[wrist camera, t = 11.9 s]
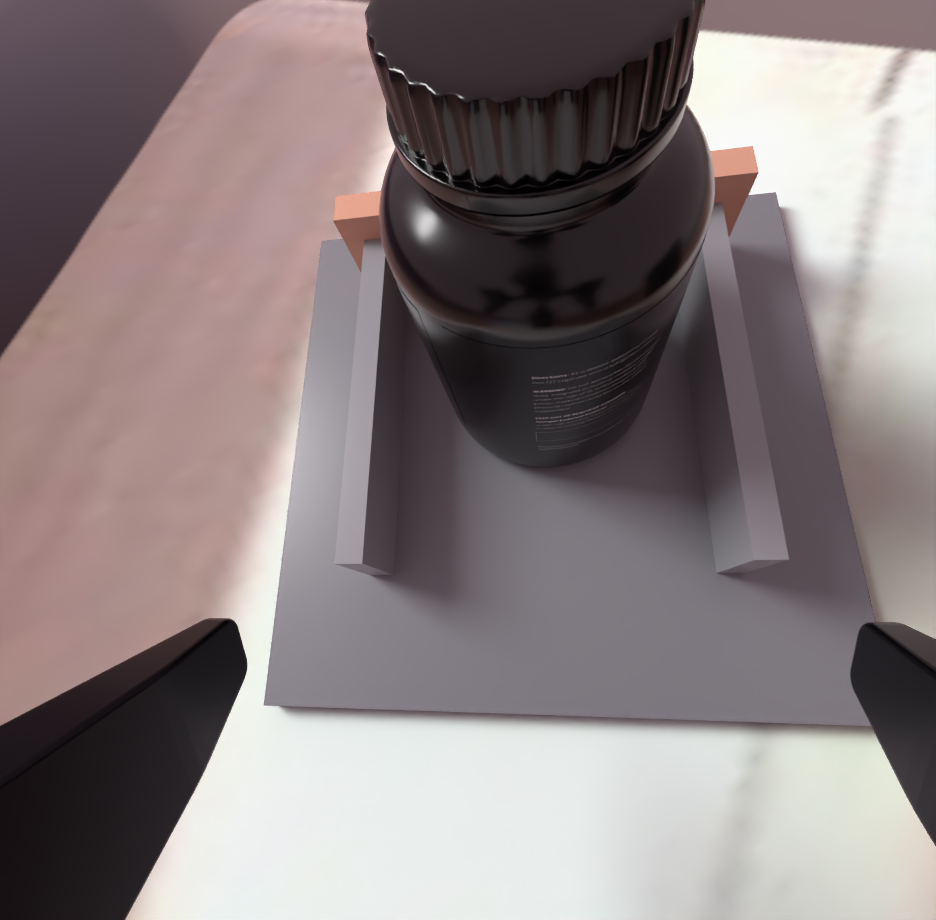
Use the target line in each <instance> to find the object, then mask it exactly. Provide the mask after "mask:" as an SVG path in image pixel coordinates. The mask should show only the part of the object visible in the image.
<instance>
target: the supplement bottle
mask: <svg viewBox="0 0 936 920" xmlns="http://www.w3.org/2000/svg"><path fill="white" fill-rule="evenodd" d="M370 1H371V2H370V4H369V6H368V8H367V10H366V12H365V18H366V24H367V28H368V29H367V41H368V47H369V51H370V54H371V57H372V60H373V64H374V67H375V70H376V73H377V76H378V79H379V82H380V85H381V89H382V92H383V95H384V98H385V101H386V112H387V121H388V126H389V130H390V133H391V136H392V139H393V142H394V144H395V147H396V148H395V150H394V152H393V154H392V156H391V159H390V161H389V164H388V167H387V170H386V173H385V176H384V180H383V185H382V189H381V195H380V204H379V228H380V235H381V242H382V245H383V249H384V253H385V256H386V259H387V261H388V264H389V266H390V269H391V272H392V274H393V277H394V279H395V281H396V284H397V286H398V288H399V290H400V293H401V295H402V297H403V299H404V301H405V304H406V306H407V308H408V310H409V312H410V315H411V317H412V319H413V321H414V323H415V326H416V328H417V330H418V332H419V334H420V337H421V339H422V341H423V343H424V345H425V348H426V350H427V352H428V354H429V356H430V359H431V361H432V363H433V365H434V367H435V370H436V372H437V374H438V376H439V378H440V381H441V383H442V385H443V387H444V389H445V392H446V394H447V396H448V398H449V400H450V403H451V405H452V407H453V409H454V411H455V413H456V415H457V416H458V418H459V420H460V422H461V423H462V425H463V426H464V428H465V429H466V430H467V432H468V433H469V434H470V435H471V436H472V438H473V439H474V440H475V441H477V442H478V443H479V444H480V445H481V446H482V447H484V448H485V449H486V450H488V451H489V452H491V453H493V454H494V455H496V456H498V457H500V458H502V459H505V460H507V461H510V462H513V463H516V464H520V465H524V466H531V467H541V468H548V467H561V466H567V465H571V464H575V463H578V462H582V461H584V460H587V459H589V458H592V457H594V456H596V455H598V454H599V453H601V452H603V451H605V450H606V449H608V448H609V447H611V446H612V445H613V444H614V443H615V442H617V441H618V440H619V439H620V438H621V437H622V436H623V435H624V434H625V433H626V432H627V431H628V429H629V428H630V427H631V426H632V424H633V423H634V421H635V419H636V418H637V416H638V415H639V413H640V411H641V409H642V407H643V404H644V402H645V400H646V397H647V395H648V392H649V390H650V387H651V384H652V382H653V379H654V376H655V373H656V371H657V368H658V365H659V363H660V360H661V357H662V355H663V352H664V349H665V346H666V344H667V341H668V338H669V336H670V333H671V330H672V327H673V325H674V322H675V319H676V317H677V314H678V311H679V308H680V306H681V303H682V300H683V298H684V295H685V292H686V289H687V287H688V284H689V281H690V279H691V276H692V273H693V270H694V268H695V265H696V262H697V260H698V257H699V254H700V251H701V249H702V246H703V243H704V240H705V237H706V233H707V230H708V227H709V223H710V219H711V215H712V210H713V205H714V196H715V175H714V169H713V163H712V157H711V153H710V150H709V147H708V143H707V140H706V138H705V135H704V133H703V131H702V129H701V126H700V124H699V122H698V121H697V119H696V117H695V116H694V114H693V113H692V111H691V110H690V108H689V107H688V105H687V100H688V96H689V92H690V88H691V83H692V78H693V66H694V64H693V55H694V50H695V46H696V42H697V37H698V33H699V29H700V24H701V20H702V16H703V11H704V6H705V0H370Z"/></svg>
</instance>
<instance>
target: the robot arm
mask: <svg viewBox="0 0 936 920" xmlns="http://www.w3.org/2000/svg"><path fill="white" fill-rule="evenodd" d="M246 672H247V658H246V655H245V651H244V648H243V644H242V640H241V637H240V633H239V630H238V626H237V624H236V623H235V621H233V620H232V619H229V618H209V619H205V620H203V621H201V622H199V623H197V624H195V625H193V626H191V627H189V628H187V629H185V630H183V631H181V632H180V633H178V634H176V635H174V636H172V637H170V638H168V639H166V640H164V641H162V642H160V643H158V644H157V645H155V646H153V647H151V648H149V649H147V650H145V651H143V652H141V653H139V654H137V655H135V656H133V657H132V658H130V659H128V660H126V661H124V662H122V663H120V664H118V665H116V666H114V667H112V668H110V669H108V670H107V671H105V672H103V673H101V674H99V675H97V676H95V677H93V678H91V679H89V680H87V681H85V682H83V683H82V684H80V685H78V686H76V687H74V688H72V689H70V690H68V691H66V692H64V693H62V694H60V695H59V696H57V697H55V698H53V699H51V700H49V701H47V702H45V703H43V704H41V705H39V706H37V707H35V708H34V709H32V710H30V711H28V712H26V713H24V714H22V715H20V716H18V717H16V718H14V719H12V720H10V721H9V722H7V723H5V724H3V725H1V726H0V920H125V919H126V917H127V916H128V914H129V912H130V910H131V908H132V906H133V904H134V903H135V901H136V899H137V897H138V895H139V893H140V891H141V890H142V888H143V886H144V884H145V882H146V880H147V878H148V877H149V875H150V873H151V871H152V869H153V867H154V865H155V863H156V862H157V860H158V858H159V856H160V854H161V852H162V850H163V849H164V847H165V845H166V843H167V841H168V839H169V837H170V836H171V834H172V832H173V830H174V828H175V826H176V824H177V823H178V821H179V819H180V817H181V815H182V813H183V811H184V810H185V808H186V806H187V804H188V802H189V800H190V798H191V797H192V795H193V793H194V791H195V789H196V787H197V785H198V783H199V781H200V779H201V777H202V775H203V773H204V771H205V769H206V767H207V764H208V762H209V760H210V758H211V756H212V753H213V751H214V749H215V746H216V744H217V742H218V739H219V737H220V735H221V732H222V730H223V728H224V725H225V723H226V721H227V718H228V716H229V714H230V711H231V709H232V707H233V704H234V702H235V700H236V697H237V695H238V693H239V690H240V688H241V686H242V683H243V681H244V679H245V676H246ZM850 679H851V684H852V687H853V690H854V692H855V694H856V696H857V698H858V700H859V702H860V704H861V706H862V708H863V710H864V712H865V714H866V716H867V718H868V720H869V722H870V724H871V726H872V728H873V730H874V732H875V734H876V736H877V738H878V740H879V742H880V744H881V746H882V748H883V750H884V752H885V754H886V756H887V758H888V760H889V762H890V764H891V766H892V768H893V770H894V772H895V774H896V776H897V778H898V780H899V782H900V784H901V786H902V788H903V790H904V792H905V794H906V796H907V798H908V800H909V802H910V803H911V805H912V807H913V809H914V811H915V813H916V814H917V816H918V818H919V819H920V821H921V823H922V824H923V826H924V828H925V829H926V831H927V833H928V834H929V836H930V838H931V839H932V841H933V842H934V844H935V846H936V639H934V638H932V637H929V636H927V635H925V634H923V633H921V632H919V631H917V630H915V629H912V628H910V627H908V626H906V625H904V624H901V623H896V622H868V623H865V624H863V625H862V626H861V628H860V629H859V632H858V636H857V641H856V645H855V650H854V655H853V660H852V664H851V669H850Z"/></svg>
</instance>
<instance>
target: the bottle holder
mask: <svg viewBox="0 0 936 920" xmlns="http://www.w3.org/2000/svg"><path fill="white" fill-rule="evenodd" d="M710 153H711V157H712V163H713V169H714V175H715V196H714V205H713V210H712V215H711V219H710V223H709V227H708V230H707V233H706V237H705V240H704V243H703V246H702V249H701V251H700V254H699V257H698V260H697V262H696V265H695V268H694V270H693V273H692V276H691V279H690V281H689V284H688V287H687V289H686V292H685V295H684V298H683V300H682V303H681V306H680V308H679V311H678V314H677V317H676V319H675V322H674V325H673V327H672V330H671V333H670V336H669V338H668V341H667V344H666V346H665V349H664V352H663V355H662V357H661V360H660V363H659V365H658V368H657V371H656V373H655V376H654V379H653V382H652V384H651V387H650V390H649V392H648V395H647V397H646V400H645V402H644V404H643V407H642V409H641V411H640V413H639V415H638V416H637V418H636V419H635V421H634V423H633V424H632V426H631V427H630V428H629V429H628V431H627V432H626V433H625V434H624V435H623V436H622V437H621V438H620V439H619V440H618V441H617V442H615V443H614V444H613V445H612V446H611V447H609V448H608V449H606V450H605V451H603V452H601V453H599V454H598V455H596V456H594V457H592V458H589V459H587V460H584V461H582V462H578V463H575V464H571V465H567V466H561V467H548V468H541V467H531V466H524V465H520V464H516V463H513V462H510V461H507V460H505V459H502V458H500V457H498V456H496V455H494V454H493V453H491V452H489V451H488V450H486V449H485V448H484V447H482V446H481V445H480V444H479V443H478V442H477V441H475V440H474V439H473V438H472V436H471V435H470V434H469V433H468V432H467V430H466V429H465V428H464V426H463V425H462V423H461V422H460V420H459V418H458V416H457V415H456V413H455V411H454V409H453V407H452V405H451V403H450V400H449V398H448V396H447V394H446V392H445V389H444V387H443V385H442V383H441V381H440V378H439V376H438V374H437V372H436V370H435V367H434V365H433V363H432V361H431V359H430V356H429V354H428V352H427V350H426V348H425V345H424V343H423V341H422V339H421V337H420V334H419V332H418V330H417V328H416V326H415V323H414V321H413V319H412V317H411V315H410V312H409V310H408V308H407V306H406V304H405V301H404V299H403V297H402V295H401V293H400V290H399V288H398V286H397V284H396V281H395V279H394V277H393V274H392V272H391V269H390V266H389V264H388V261H387V259H386V256H385V253H384V249H383V245H382V242H381V235H380V228H379V204H380V195H381V191H377V192H369V193H361V194H352V195H344V196H336V201H335V210H334V218H333V221H334V223H335V225H336V227H337V228H338V230H339V232H340V234H341V236H342V238H343V239H338V240H328V241H322V242H321V250H320V258H319V266H318V274H317V282H316V290H315V298H314V306H313V314H312V322H311V330H310V338H309V346H308V354H307V362H306V370H305V378H304V386H303V394H302V402H301V410H300V418H299V427H298V435H297V443H296V451H295V459H294V467H293V475H292V483H291V491H290V499H289V507H288V515H287V523H286V531H285V539H284V547H283V555H282V563H281V571H280V579H279V587H278V595H277V603H276V611H275V619H274V627H273V635H272V643H271V651H270V659H269V667H268V675H267V683H266V692H265V700H264V705H267V706H296V707H326V708H355V709H384V710H413V711H442V712H472V713H501V714H530V715H559V716H588V717H618V718H647V719H676V720H705V721H735V722H764V723H793V724H822V725H851V726H871V724H870V722H869V720H868V718H867V716H866V714H865V712H864V710H863V708H862V706H861V704H860V702H859V700H858V698H857V696H856V694H855V692H854V690H853V687H852V684H851V679H850V669H851V664H852V660H853V655H854V650H855V645H856V641H857V636H858V632H859V629H860V628H861V626H862V625H863V624H865V623H868V622H875V619H874V614H873V610H872V606H871V602H870V597H869V593H868V589H867V584H866V580H865V576H864V571H863V567H862V563H861V558H860V554H859V550H858V545H857V541H856V537H855V532H854V528H853V524H852V519H851V515H850V511H849V507H848V502H847V498H846V494H845V489H844V485H843V481H842V476H841V472H840V468H839V463H838V459H837V455H836V450H835V446H834V442H833V437H832V433H831V429H830V424H829V420H828V416H827V412H826V407H825V403H824V399H823V394H822V390H821V386H820V381H819V377H818V373H817V368H816V364H815V360H814V355H813V351H812V347H811V342H810V338H809V334H808V329H807V325H806V321H805V317H804V312H803V308H802V304H801V299H800V295H799V291H798V286H797V282H796V278H795V273H794V269H793V265H792V260H791V256H790V252H789V247H788V243H787V239H786V234H785V230H784V226H783V222H782V217H781V213H780V209H779V204H778V200H777V196H776V192H775V193H766V194H756V195H748V194H749V192H750V190H751V188H752V185H753V183H754V181H755V179H756V177H757V174H758V168H757V163H756V159H755V154H754V150H753V146H751V147H742V148H734V149H726V150H717V151H710Z"/></svg>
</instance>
